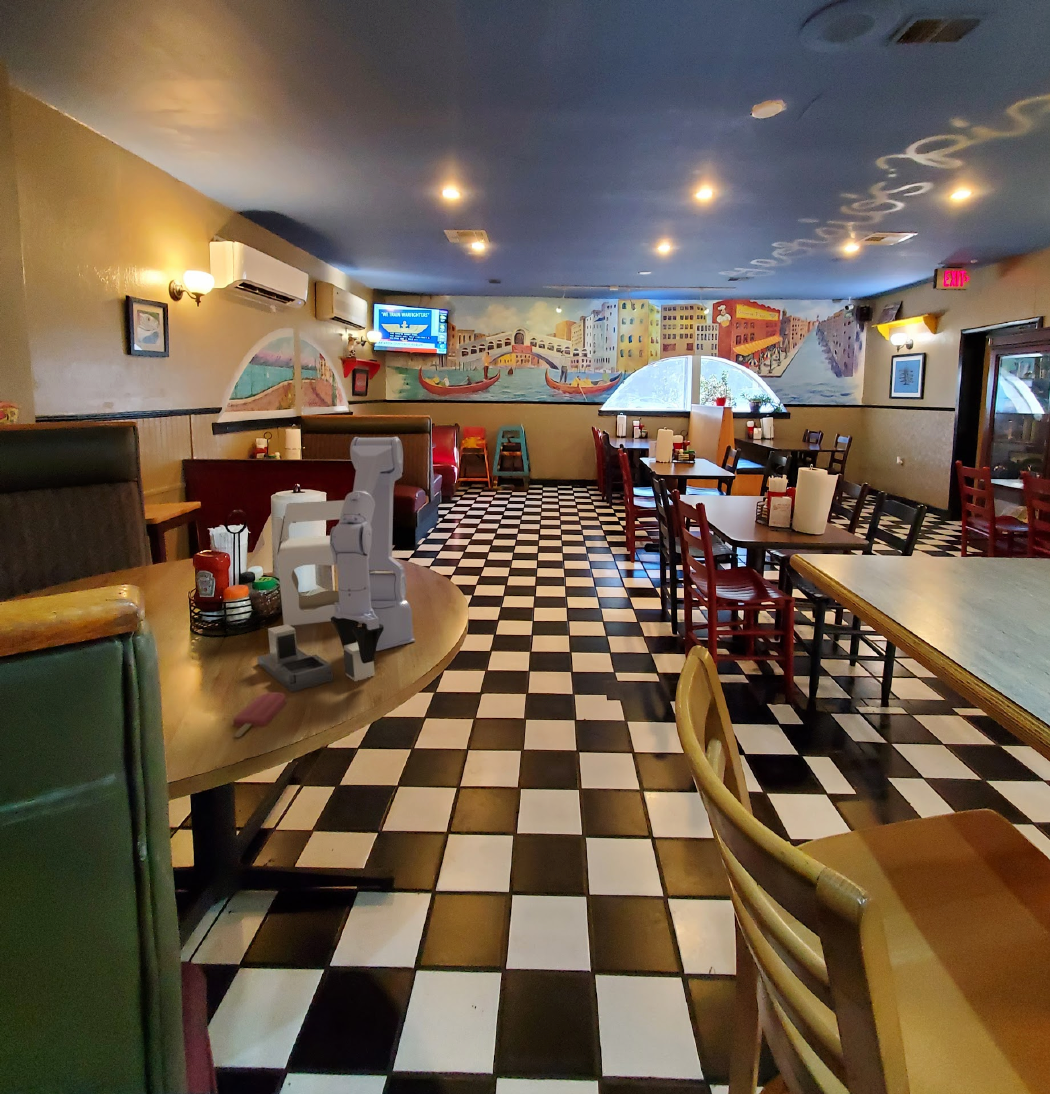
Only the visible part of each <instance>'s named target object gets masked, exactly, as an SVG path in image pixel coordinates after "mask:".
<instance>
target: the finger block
mask: <svg viewBox="0 0 1050 1094" xmlns="http://www.w3.org/2000/svg"><path fill="white" fill-rule="evenodd" d="M343 661H344V662H343V663H344V673H345V676H347V677H349V678H350V680H352V681H354V682H359V681H361V680H366V679H368V678H367V677H369V678H372V677H371V676H373V677H375V676H376V675H375V674H376V673H375V663H374V661H375V660H374V661H372V662H369V663H365V664H364V663H362V661H361V657H360V652H359V647H358V643H357V642H356V643H352V644H348V645H344V649H343ZM358 680H359V681H358Z"/></svg>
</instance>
